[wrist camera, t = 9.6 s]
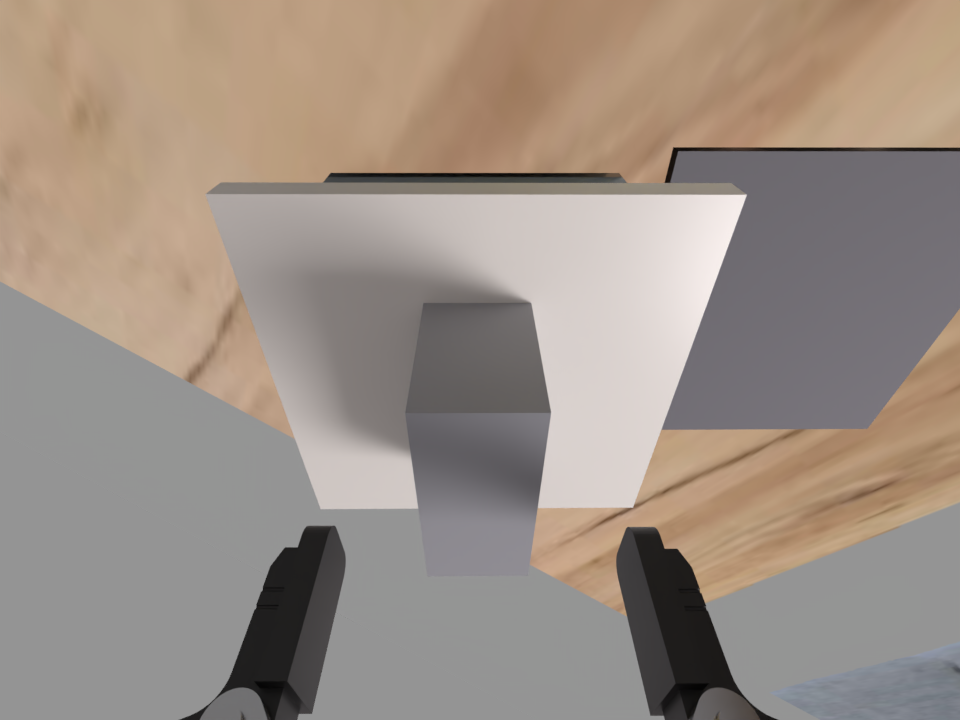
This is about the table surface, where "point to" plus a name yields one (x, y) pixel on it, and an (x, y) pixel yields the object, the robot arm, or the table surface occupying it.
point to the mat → (820, 283)
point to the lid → (476, 341)
